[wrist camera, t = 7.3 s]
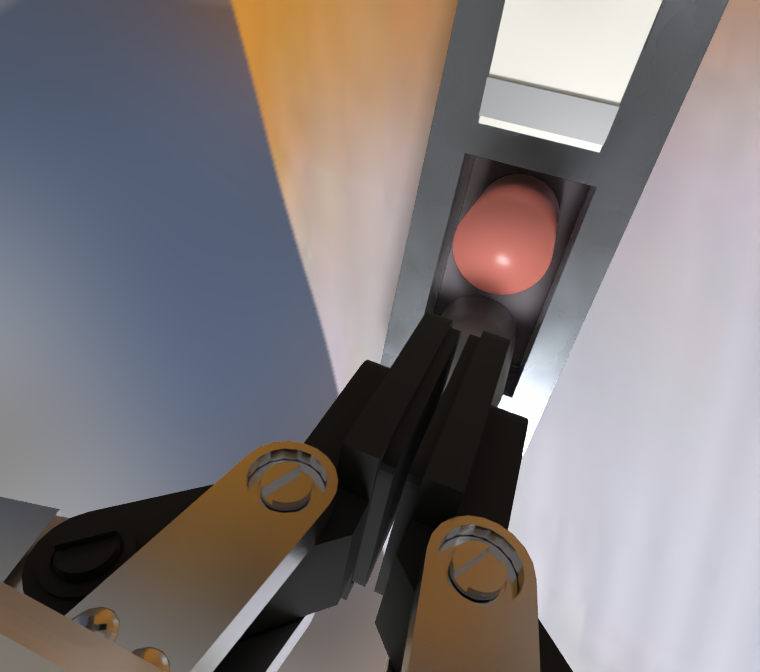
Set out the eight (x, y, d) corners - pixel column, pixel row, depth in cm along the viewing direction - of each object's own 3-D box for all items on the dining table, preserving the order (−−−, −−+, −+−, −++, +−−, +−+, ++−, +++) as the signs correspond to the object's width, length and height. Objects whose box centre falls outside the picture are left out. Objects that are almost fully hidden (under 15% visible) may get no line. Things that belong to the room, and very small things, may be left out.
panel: (508, -140, 18) (489, -183, 14) (758, -105, 16) (802, -146, 13) (391, 369, 29) (366, 410, 26) (529, 419, 28) (521, 469, 24)
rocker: (551, -172, 13) (540, -170, 12) (720, -151, 12) (724, -148, 11) (488, 105, 18) (477, 124, 17) (604, 133, 17) (599, 154, 16)
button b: (449, 284, 23) (421, 330, 19) (528, 309, 22) (516, 361, 19) (431, 350, 25) (403, 403, 21) (503, 375, 24) (487, 434, 20)
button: (487, 164, 22) (466, 187, 18) (572, 186, 21) (568, 215, 17) (465, 242, 24) (442, 278, 20) (542, 265, 23) (533, 306, 19)
